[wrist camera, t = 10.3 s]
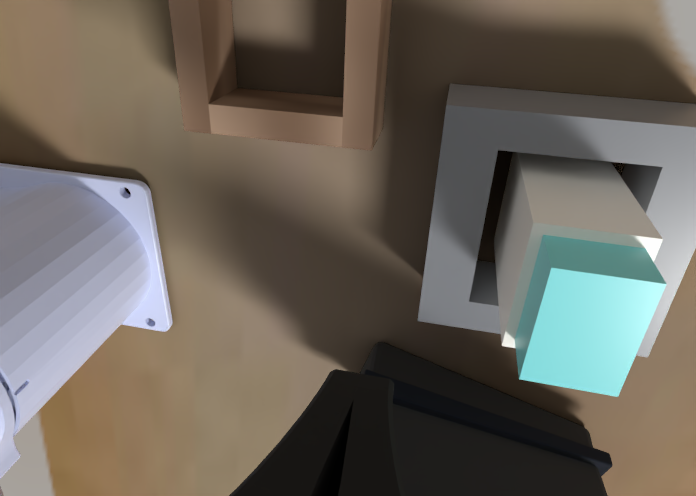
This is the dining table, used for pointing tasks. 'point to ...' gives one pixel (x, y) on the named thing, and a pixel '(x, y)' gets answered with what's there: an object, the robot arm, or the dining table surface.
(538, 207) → the plug
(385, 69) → the brown wooden frame
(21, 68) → the dining table surface
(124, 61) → the dining table surface
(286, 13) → the dining table surface
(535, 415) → the black piece
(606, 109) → the port panel
